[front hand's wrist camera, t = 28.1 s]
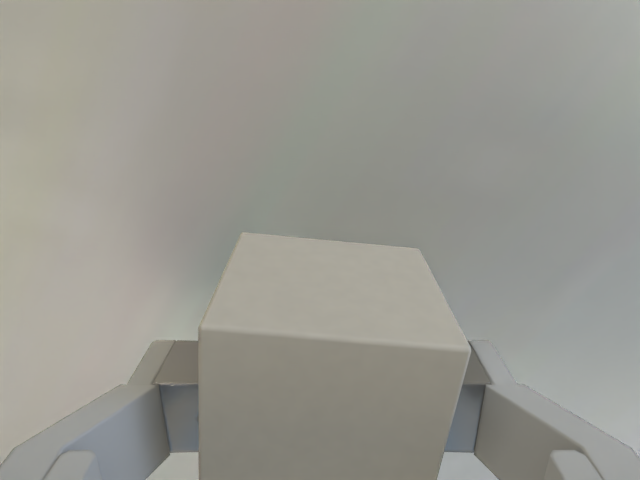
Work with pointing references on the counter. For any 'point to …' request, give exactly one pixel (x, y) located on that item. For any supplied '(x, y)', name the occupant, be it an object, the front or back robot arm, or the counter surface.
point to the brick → (326, 364)
